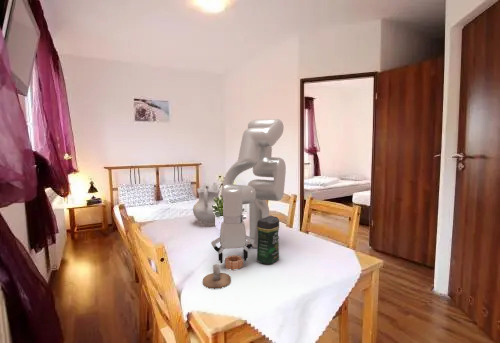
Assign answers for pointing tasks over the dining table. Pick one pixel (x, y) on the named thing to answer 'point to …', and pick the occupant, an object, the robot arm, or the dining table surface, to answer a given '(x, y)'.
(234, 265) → the ring
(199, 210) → the ceramic pitcher
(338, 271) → the dining table surface
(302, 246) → the dining table surface
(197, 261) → the dining table surface
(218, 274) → the post stand
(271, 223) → the coffee jar
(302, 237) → the dining table surface
